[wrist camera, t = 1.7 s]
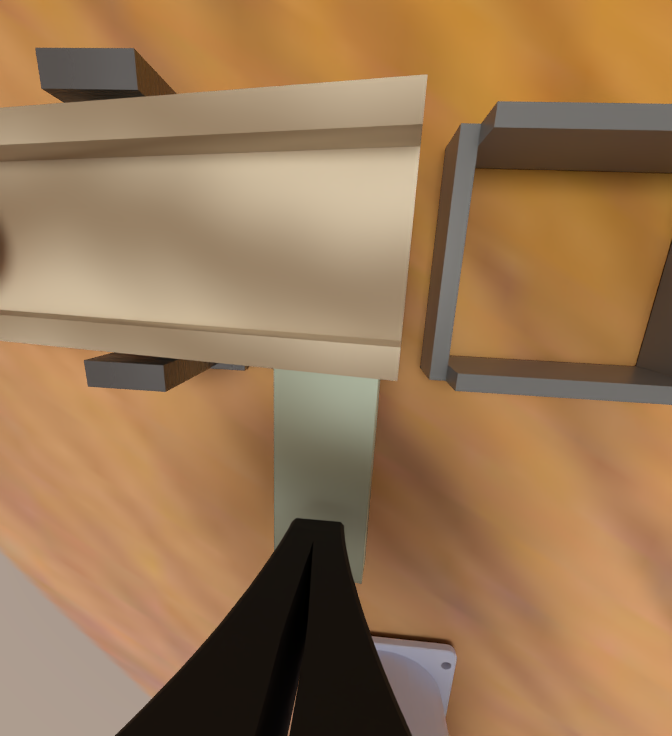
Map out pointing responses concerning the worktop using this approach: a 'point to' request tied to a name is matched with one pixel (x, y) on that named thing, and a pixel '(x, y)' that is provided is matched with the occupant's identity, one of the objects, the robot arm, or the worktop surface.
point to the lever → (229, 253)
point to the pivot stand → (101, 82)
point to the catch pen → (548, 152)
